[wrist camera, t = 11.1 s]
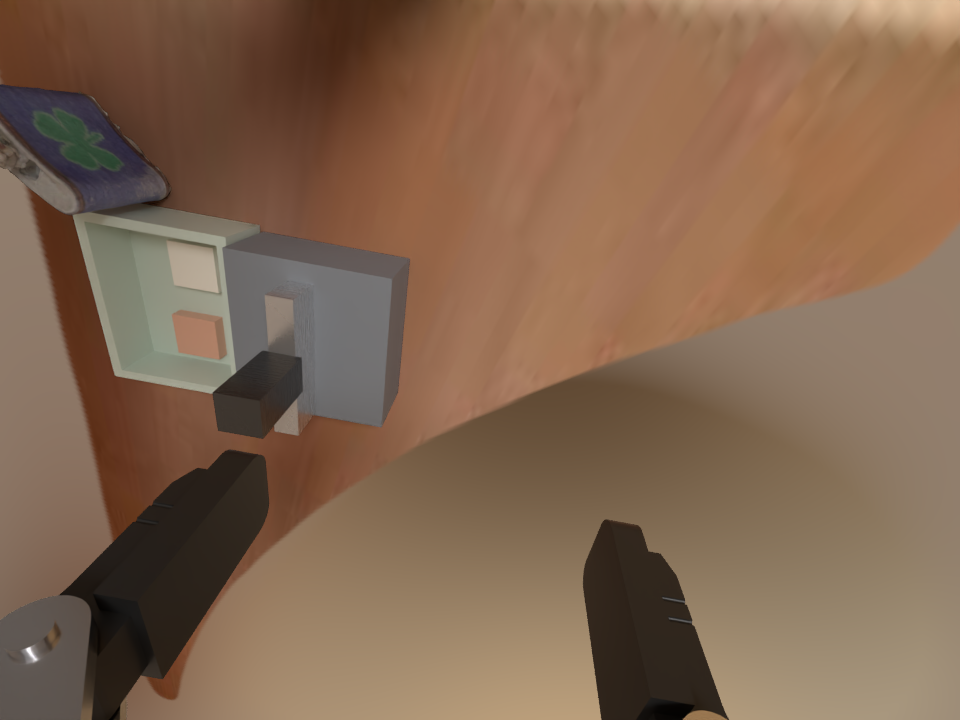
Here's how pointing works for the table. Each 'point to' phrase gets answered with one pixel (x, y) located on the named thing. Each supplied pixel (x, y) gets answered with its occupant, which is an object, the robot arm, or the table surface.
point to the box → (155, 290)
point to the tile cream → (194, 265)
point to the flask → (73, 152)
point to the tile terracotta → (199, 334)
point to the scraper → (275, 371)
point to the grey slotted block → (327, 316)
